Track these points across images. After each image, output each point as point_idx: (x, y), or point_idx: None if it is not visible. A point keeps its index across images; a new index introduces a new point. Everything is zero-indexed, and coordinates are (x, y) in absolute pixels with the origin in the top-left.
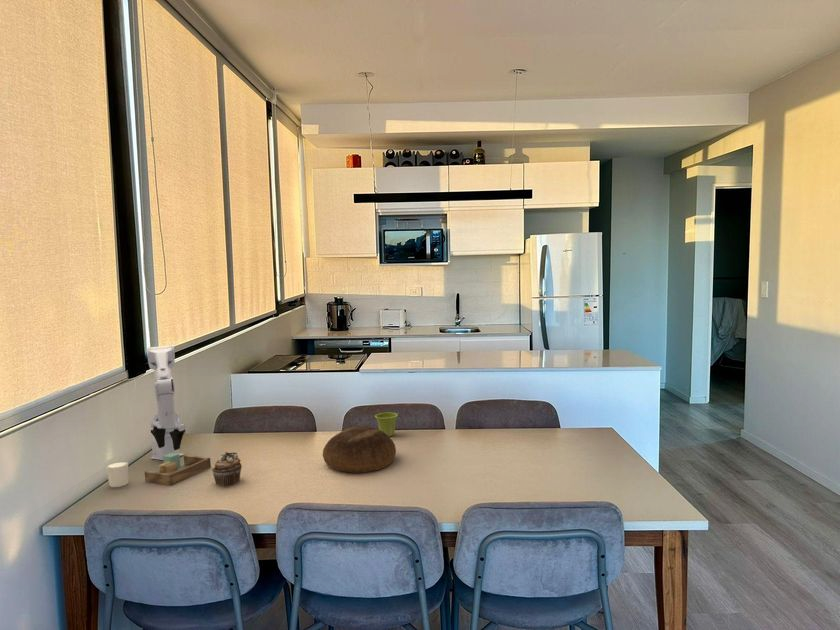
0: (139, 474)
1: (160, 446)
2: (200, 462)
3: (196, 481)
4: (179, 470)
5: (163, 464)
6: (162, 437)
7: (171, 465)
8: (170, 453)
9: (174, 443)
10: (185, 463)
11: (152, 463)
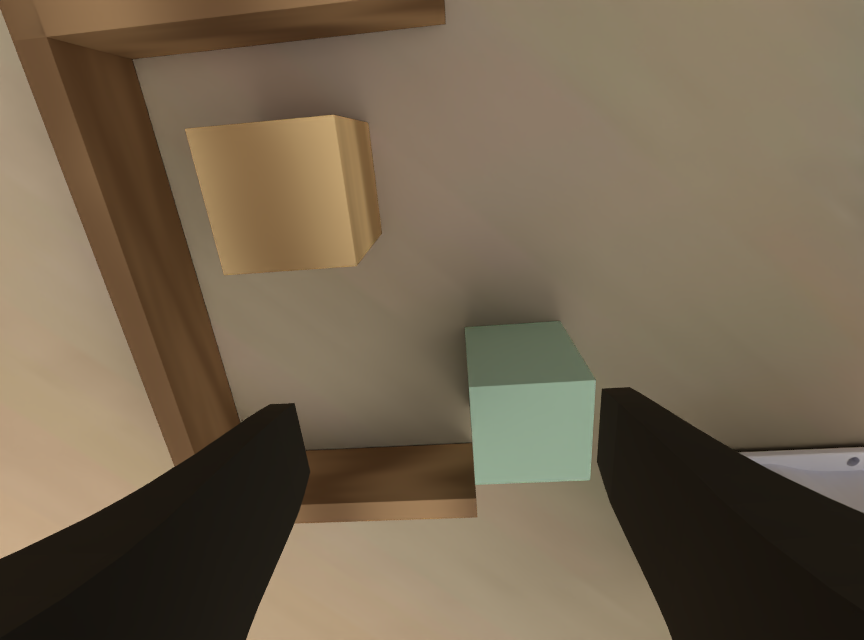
0: (685, 121)
1: (607, 411)
2: (164, 432)
3: (15, 217)
4: (91, 186)
5: (308, 164)
6: (676, 588)
7: (207, 197)
8: (579, 462)
9: (184, 464)
10: (460, 451)
11: (782, 378)
